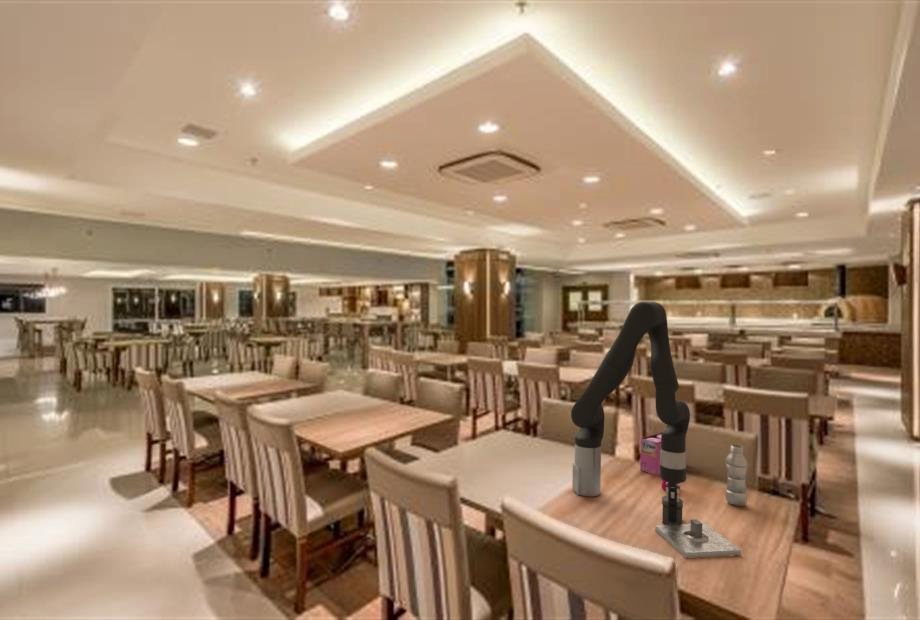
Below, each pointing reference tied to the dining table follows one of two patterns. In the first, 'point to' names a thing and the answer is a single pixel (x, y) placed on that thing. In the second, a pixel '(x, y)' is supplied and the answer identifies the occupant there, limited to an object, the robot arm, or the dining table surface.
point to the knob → (666, 511)
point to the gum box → (652, 454)
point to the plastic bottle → (736, 476)
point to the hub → (697, 540)
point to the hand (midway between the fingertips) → (672, 517)
